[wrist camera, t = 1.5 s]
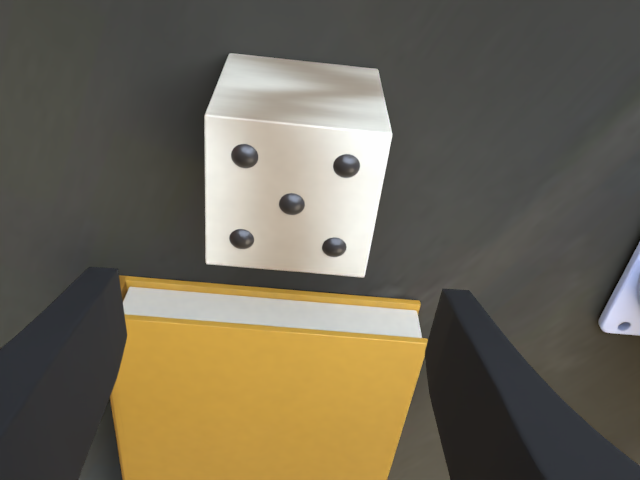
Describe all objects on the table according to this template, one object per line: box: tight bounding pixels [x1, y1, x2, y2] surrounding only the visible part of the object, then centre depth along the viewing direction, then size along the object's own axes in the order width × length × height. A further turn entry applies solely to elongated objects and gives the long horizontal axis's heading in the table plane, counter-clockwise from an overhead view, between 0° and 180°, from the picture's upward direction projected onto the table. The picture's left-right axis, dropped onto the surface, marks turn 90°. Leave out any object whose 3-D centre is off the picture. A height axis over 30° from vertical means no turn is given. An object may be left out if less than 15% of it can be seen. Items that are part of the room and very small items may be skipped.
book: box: [110, 275, 428, 480], centre depth 29 cm, size 13×17×3 cm
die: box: [204, 53, 392, 277], centre depth 19 cm, size 5×5×5 cm
